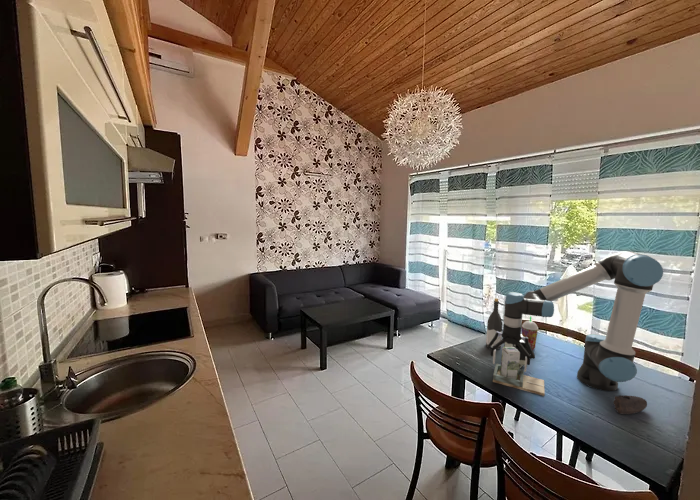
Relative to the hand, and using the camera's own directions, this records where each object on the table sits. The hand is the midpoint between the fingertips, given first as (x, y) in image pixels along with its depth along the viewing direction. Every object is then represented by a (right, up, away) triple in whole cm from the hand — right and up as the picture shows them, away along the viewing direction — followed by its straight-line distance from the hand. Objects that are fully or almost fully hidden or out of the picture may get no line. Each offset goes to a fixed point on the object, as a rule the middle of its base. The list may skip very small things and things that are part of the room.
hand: (509, 366), depth 145 cm
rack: (+4, -7, -1) cm, 8 cm away
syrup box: (0, -5, +1) cm, 6 cm away
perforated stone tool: (+38, -10, -22) cm, 45 cm away
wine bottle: (+10, -2, +36) cm, 37 cm away
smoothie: (+29, -2, +33) cm, 44 cm away
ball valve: (+11, -5, +14) cm, 18 cm away
